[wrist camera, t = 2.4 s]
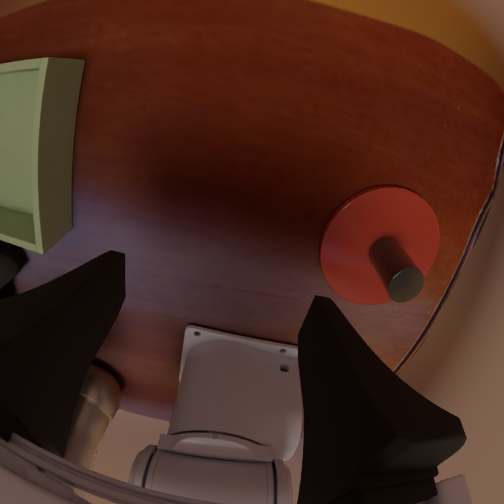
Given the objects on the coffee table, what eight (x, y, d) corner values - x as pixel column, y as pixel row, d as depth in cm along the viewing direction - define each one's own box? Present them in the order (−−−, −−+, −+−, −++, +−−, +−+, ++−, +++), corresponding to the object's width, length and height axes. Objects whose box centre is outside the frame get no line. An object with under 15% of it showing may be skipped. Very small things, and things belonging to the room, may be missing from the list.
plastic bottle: (130, 372, 27) (73, 549, 10) (123, 400, 30) (79, 546, 13) (75, 346, 26) (-1, 510, 9) (75, 377, 29) (18, 516, 12)
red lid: (454, 208, 18) (490, 237, 14) (403, 308, 22) (423, 348, 18) (346, 166, 17) (370, 188, 13) (300, 287, 21) (308, 332, 17)
